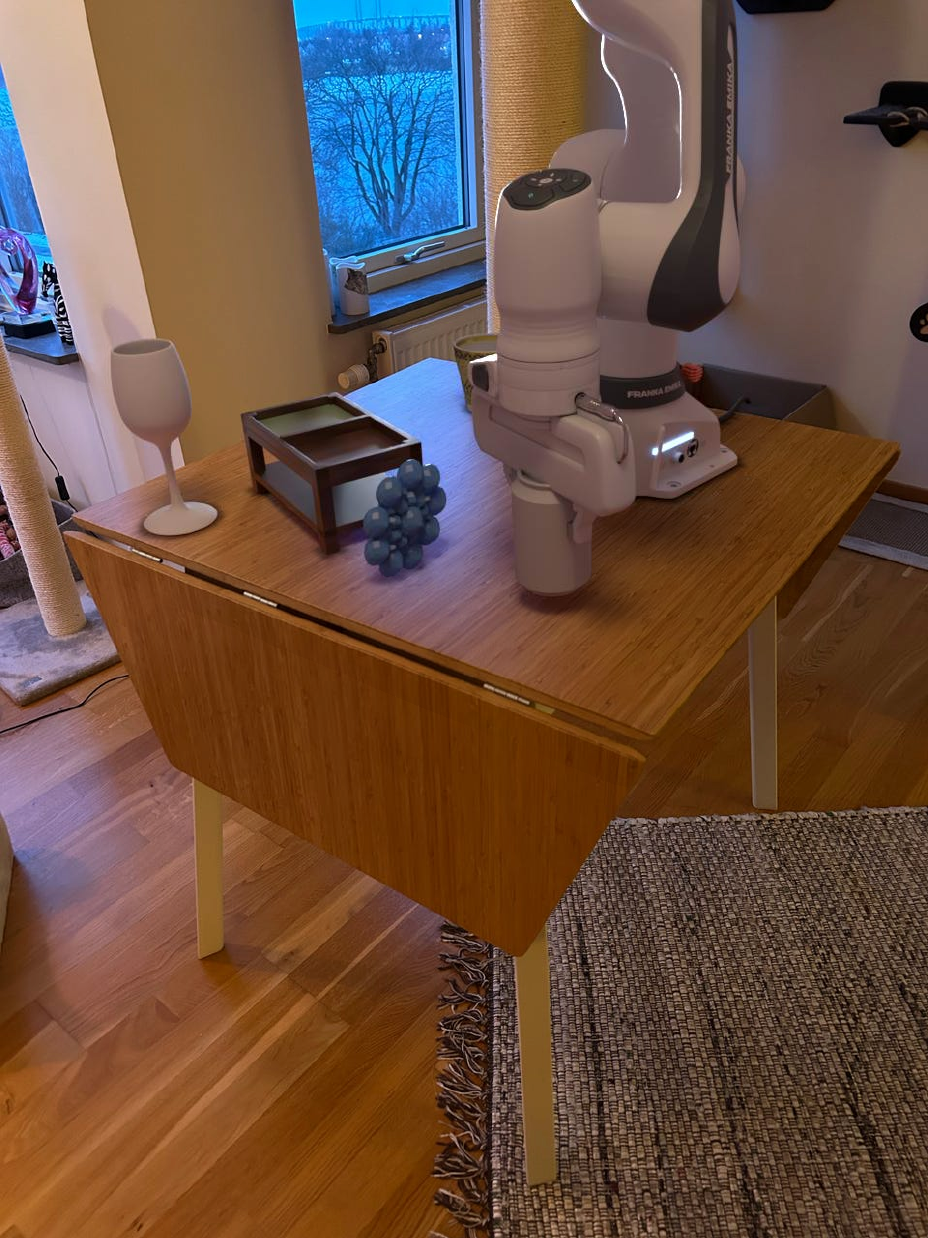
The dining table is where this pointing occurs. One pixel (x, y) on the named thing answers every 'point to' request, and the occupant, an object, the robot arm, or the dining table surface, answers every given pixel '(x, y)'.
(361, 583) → the dining table surface
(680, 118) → the robot arm
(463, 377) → the ceramic cup
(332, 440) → the tray
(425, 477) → the grapes
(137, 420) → the wineglass
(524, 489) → the can
